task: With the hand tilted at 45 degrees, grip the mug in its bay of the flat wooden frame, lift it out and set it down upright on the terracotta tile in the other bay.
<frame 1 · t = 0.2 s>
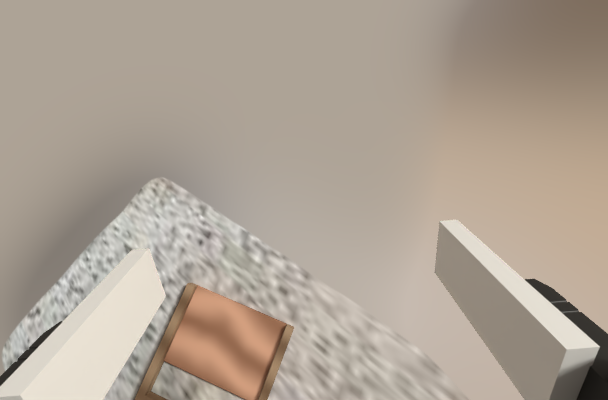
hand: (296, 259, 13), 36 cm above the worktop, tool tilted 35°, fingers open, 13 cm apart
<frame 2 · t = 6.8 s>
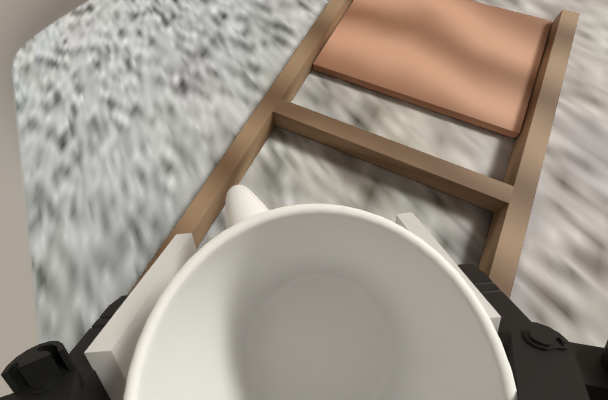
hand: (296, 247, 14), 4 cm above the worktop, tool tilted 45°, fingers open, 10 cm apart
flat wooden frame: (379, 158, 20), on the worktop
mug: (304, 315, 17), on the worktop, touching gripper
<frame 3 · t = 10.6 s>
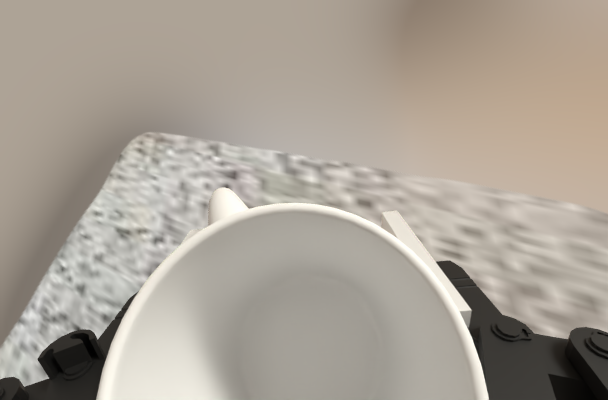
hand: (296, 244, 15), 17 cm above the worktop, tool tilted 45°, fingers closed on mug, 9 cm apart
mug: (296, 318, 17), point 13 cm above the worktop, touching gripper
when the fingers open (6 cm above the worktop, at t = 13.8 s): mug drops 1 cm, resting on flat wooden frame.
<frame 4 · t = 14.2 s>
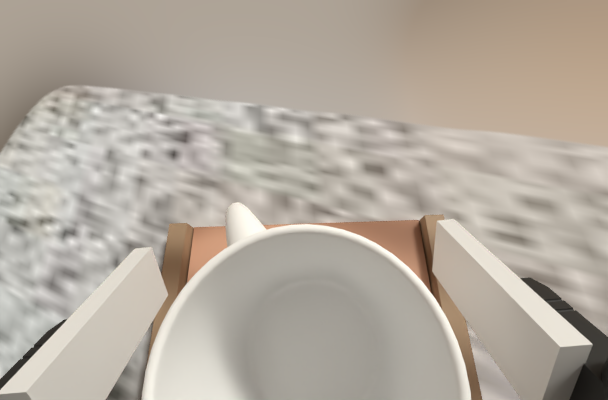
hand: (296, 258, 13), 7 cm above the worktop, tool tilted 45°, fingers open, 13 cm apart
mug: (300, 319, 18), resting on flat wooden frame
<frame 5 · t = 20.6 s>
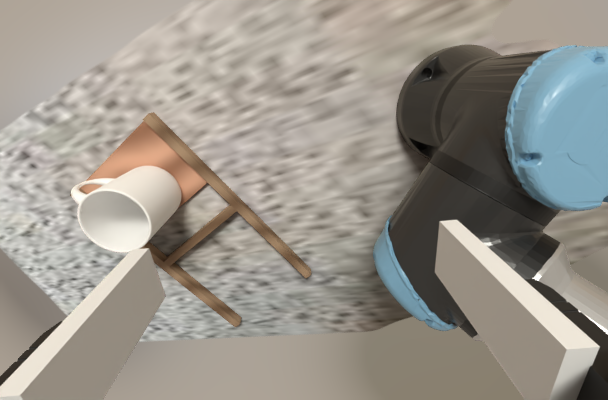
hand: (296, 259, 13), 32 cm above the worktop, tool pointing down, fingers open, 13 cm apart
flat wooden frame: (201, 232, 49), on the worktop
mug: (144, 186, 45), resting on flat wooden frame
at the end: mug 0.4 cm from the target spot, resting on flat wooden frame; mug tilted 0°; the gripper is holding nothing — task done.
